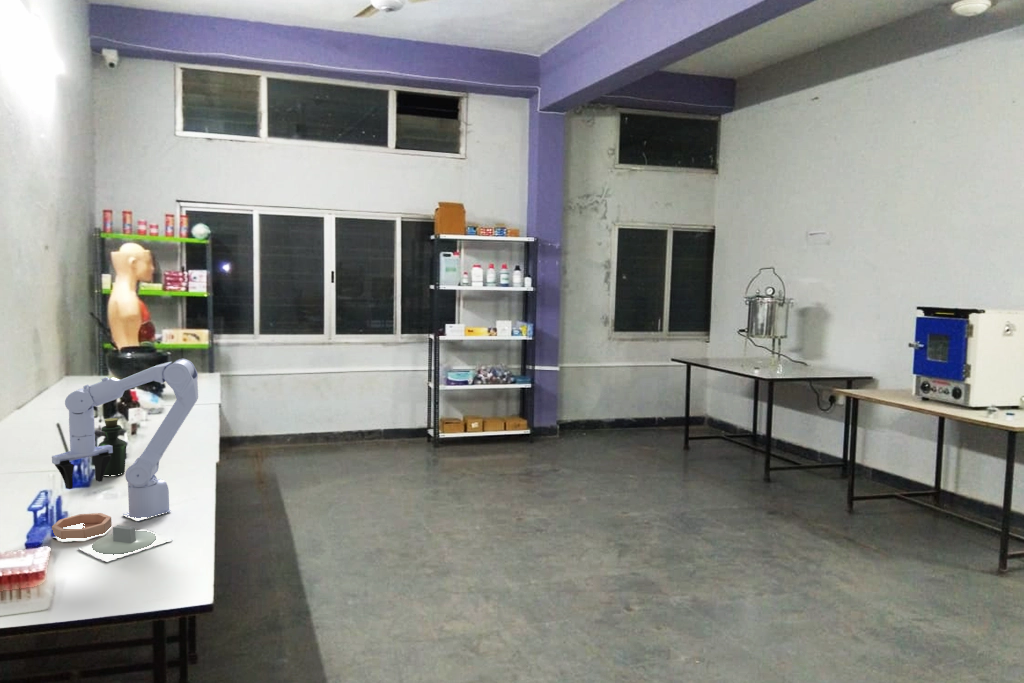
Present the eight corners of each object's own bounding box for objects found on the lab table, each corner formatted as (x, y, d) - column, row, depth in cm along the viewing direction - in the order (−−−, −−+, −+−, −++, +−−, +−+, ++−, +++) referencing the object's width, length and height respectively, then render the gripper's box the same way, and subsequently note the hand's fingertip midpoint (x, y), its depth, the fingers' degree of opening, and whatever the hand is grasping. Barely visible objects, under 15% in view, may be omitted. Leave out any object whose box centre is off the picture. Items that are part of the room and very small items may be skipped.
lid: (122, 530, 181) (121, 515, 181) (168, 536, 178) (167, 520, 178) (78, 551, 168) (77, 534, 168) (127, 557, 165) (126, 540, 165)
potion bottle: (101, 479, 224) (99, 423, 223) (96, 473, 231) (94, 418, 229) (130, 475, 230) (128, 420, 228) (124, 469, 236) (122, 415, 234)
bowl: (94, 521, 189) (94, 510, 188) (119, 531, 182) (118, 519, 182) (45, 535, 179) (44, 523, 178) (69, 546, 172) (68, 534, 172)
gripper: (102, 427, 196) (103, 475, 198) (45, 437, 184) (47, 488, 185) (116, 431, 192) (117, 479, 194) (58, 441, 180) (61, 493, 182)
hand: (84, 484), depth 189 cm, fingers open, 7 cm apart
